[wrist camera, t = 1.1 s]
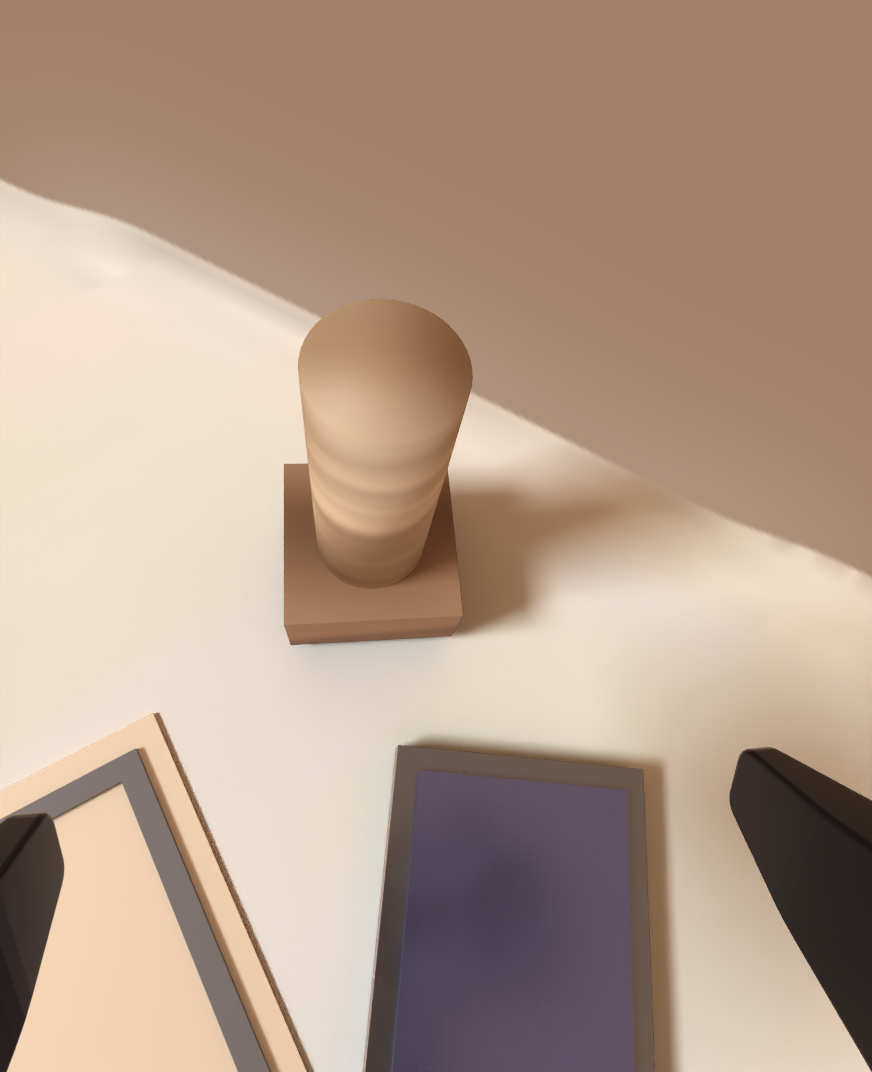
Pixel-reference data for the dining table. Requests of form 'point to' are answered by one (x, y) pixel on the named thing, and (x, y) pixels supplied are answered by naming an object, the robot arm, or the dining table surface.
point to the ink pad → (512, 918)
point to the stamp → (375, 478)
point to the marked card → (141, 927)
